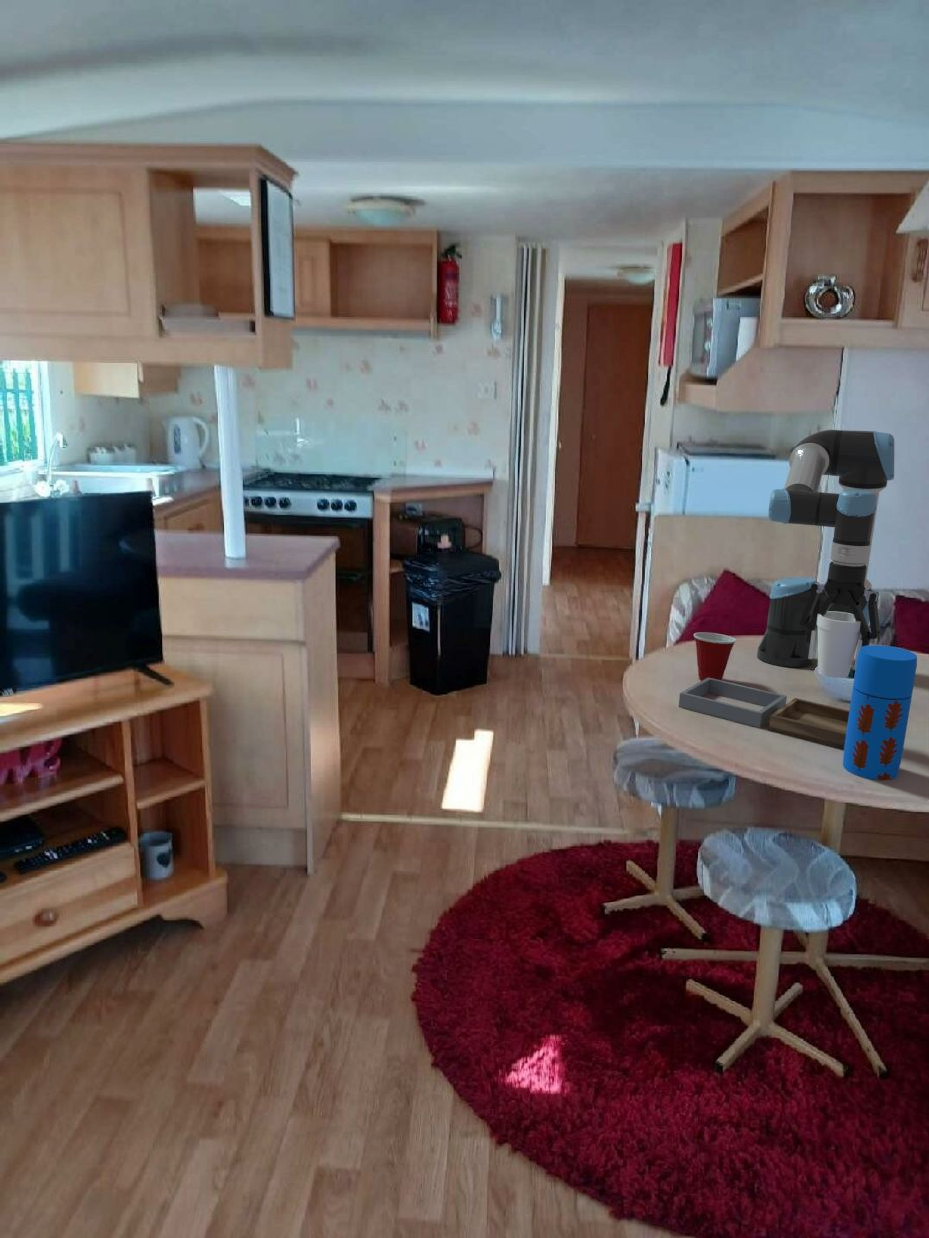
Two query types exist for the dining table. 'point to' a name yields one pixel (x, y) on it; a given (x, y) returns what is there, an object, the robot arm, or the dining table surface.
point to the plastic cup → (712, 654)
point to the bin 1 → (728, 711)
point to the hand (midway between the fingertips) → (834, 662)
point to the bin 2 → (811, 722)
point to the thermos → (879, 711)
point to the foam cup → (836, 643)
